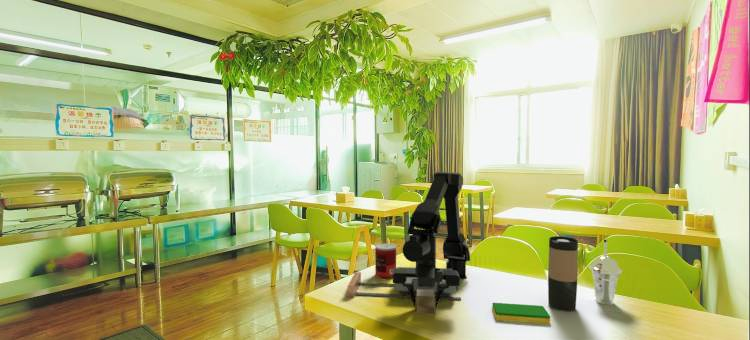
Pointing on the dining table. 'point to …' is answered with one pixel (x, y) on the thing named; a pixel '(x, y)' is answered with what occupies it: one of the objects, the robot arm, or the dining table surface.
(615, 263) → the cup with straw
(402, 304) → the dining table surface
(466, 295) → the dining table surface
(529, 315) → the dish sponge
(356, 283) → the track
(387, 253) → the canned food
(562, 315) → the dining table surface
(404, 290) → the grey open tray
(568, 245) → the travel mug
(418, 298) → the walnut block
